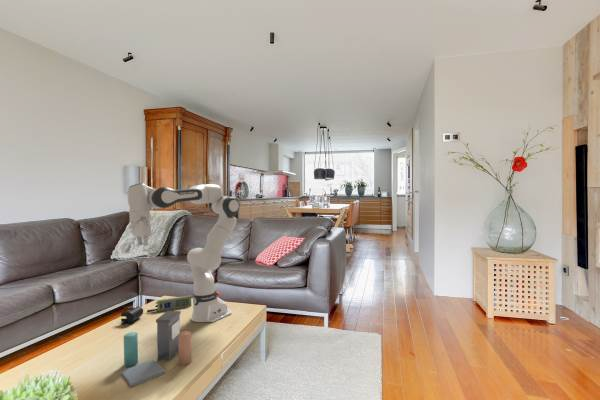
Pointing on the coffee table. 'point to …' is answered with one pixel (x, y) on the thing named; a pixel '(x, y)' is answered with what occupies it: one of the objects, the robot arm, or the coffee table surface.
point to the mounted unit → (168, 335)
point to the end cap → (131, 315)
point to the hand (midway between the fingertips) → (143, 245)
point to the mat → (142, 372)
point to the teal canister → (130, 349)
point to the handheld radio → (172, 303)
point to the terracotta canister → (184, 347)
